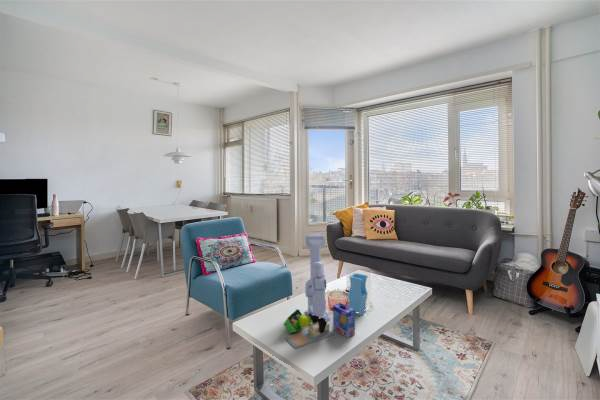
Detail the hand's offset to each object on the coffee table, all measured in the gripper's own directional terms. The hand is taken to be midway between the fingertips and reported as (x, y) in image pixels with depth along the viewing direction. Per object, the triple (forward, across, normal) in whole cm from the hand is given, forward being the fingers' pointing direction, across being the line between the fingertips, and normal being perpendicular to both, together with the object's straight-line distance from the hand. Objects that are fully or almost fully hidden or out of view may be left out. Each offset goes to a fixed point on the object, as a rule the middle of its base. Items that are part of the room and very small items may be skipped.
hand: (318, 330), depth 140 cm
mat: (+2, 0, -6) cm, 6 cm away
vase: (+2, -7, +32) cm, 32 cm away
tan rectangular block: (+1, 0, 0) cm, 1 cm away
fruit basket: (0, -10, -9) cm, 14 cm away
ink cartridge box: (+2, +5, +11) cm, 12 cm away
